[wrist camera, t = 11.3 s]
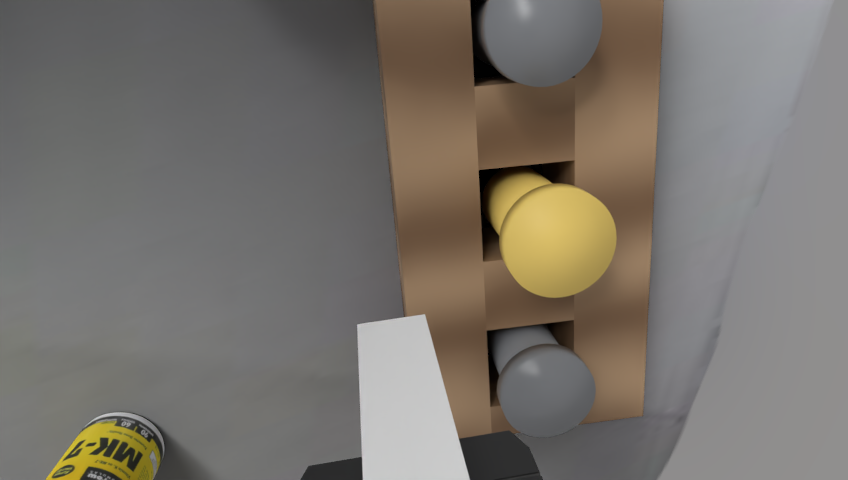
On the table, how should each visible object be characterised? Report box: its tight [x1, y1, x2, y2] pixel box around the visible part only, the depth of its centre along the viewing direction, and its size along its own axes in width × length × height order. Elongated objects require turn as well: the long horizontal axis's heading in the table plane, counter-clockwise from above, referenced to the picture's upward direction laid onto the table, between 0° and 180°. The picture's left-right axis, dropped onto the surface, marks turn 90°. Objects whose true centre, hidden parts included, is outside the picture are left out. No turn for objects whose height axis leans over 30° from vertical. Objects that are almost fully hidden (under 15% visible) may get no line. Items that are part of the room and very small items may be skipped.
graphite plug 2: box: [487, 324, 596, 438], centre depth 30 cm, size 4×4×7 cm
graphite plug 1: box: [471, 0, 603, 87], centre depth 25 cm, size 4×4×7 cm
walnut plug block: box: [372, 0, 664, 439], centre depth 29 cm, size 24×12×5 cm, turn 5°
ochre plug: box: [482, 166, 617, 298], centre depth 26 cm, size 4×4×7 cm
